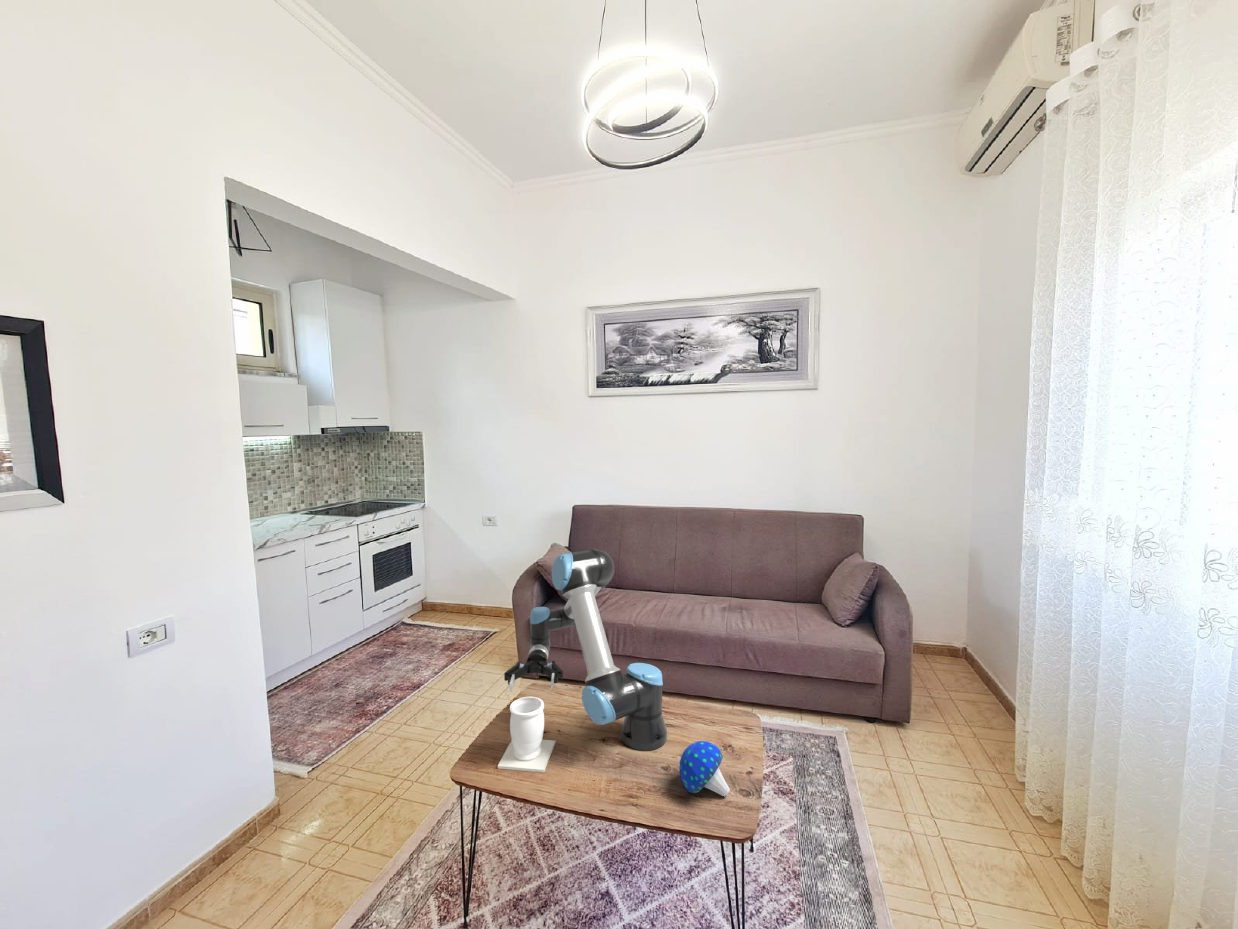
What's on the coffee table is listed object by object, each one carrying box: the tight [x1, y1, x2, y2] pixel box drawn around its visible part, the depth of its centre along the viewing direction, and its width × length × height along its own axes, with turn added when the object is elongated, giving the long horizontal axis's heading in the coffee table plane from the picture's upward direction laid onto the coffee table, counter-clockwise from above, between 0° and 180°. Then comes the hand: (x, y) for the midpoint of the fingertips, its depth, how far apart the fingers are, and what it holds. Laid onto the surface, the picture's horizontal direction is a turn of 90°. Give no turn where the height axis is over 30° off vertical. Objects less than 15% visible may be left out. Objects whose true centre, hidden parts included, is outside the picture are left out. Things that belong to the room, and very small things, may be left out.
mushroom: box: [679, 740, 731, 798], centre depth 137 cm, size 14×14×15 cm
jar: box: [509, 696, 545, 761], centre depth 151 cm, size 11×10×15 cm
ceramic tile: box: [497, 739, 556, 773], centre depth 151 cm, size 14×14×1 cm
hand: (531, 687), depth 163 cm, fingers open, 13 cm apart
